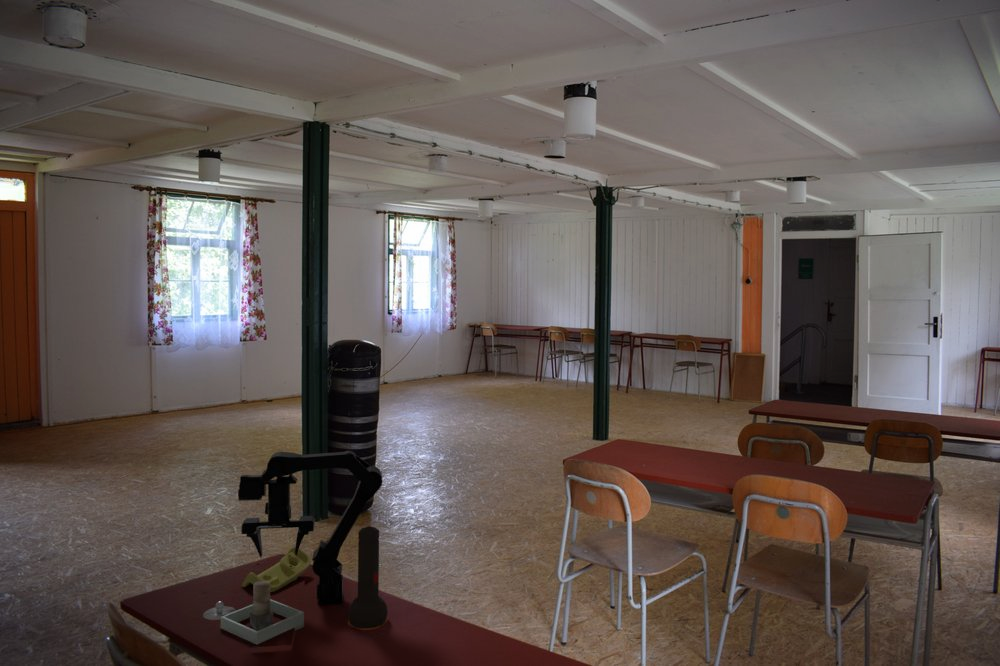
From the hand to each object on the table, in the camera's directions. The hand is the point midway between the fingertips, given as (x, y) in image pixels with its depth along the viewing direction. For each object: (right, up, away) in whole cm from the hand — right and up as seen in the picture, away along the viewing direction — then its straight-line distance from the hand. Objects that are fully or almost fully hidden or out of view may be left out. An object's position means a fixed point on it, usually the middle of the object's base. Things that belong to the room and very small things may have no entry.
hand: (278, 555), depth 197 cm
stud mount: (-13, -13, -9) cm, 20 cm away
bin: (+1, -14, -15) cm, 21 cm away
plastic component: (-4, -13, +15) cm, 20 cm away
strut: (+1, -13, -16) cm, 20 cm away
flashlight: (+26, -14, -9) cm, 31 cm away
